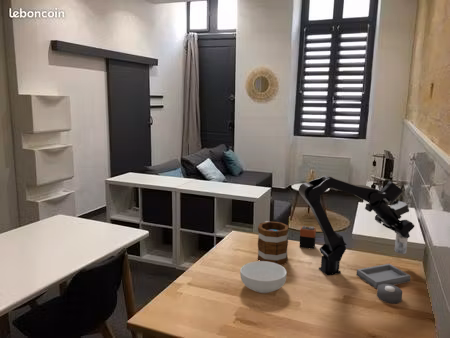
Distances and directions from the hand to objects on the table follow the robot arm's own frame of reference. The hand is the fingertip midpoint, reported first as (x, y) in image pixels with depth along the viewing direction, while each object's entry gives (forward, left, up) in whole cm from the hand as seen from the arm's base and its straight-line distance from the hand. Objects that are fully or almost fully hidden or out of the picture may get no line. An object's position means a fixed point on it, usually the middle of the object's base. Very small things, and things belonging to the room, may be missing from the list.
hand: (405, 235), depth 152 cm
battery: (-27, +31, -14) cm, 43 cm away
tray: (-16, -6, -13) cm, 22 cm away
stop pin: (-1, 0, -7) cm, 7 cm away
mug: (-48, +27, -14) cm, 56 cm away
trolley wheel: (-24, -18, -13) cm, 33 cm away
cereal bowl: (-63, +3, -14) cm, 64 cm away
